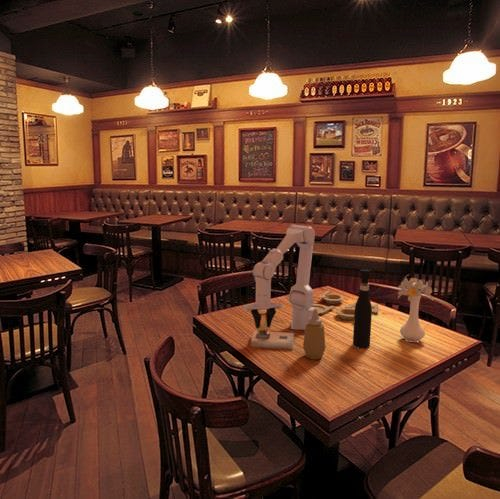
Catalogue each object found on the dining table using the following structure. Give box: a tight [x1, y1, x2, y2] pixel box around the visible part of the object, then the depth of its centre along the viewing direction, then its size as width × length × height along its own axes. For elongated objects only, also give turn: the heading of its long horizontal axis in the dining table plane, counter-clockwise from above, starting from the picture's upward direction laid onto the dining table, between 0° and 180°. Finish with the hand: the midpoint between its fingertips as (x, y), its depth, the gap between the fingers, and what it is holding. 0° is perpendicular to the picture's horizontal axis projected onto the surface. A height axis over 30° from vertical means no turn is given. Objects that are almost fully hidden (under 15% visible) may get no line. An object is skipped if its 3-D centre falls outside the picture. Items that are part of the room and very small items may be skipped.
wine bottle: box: [352, 268, 373, 349], centre depth 165 cm, size 6×6×30 cm
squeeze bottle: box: [302, 309, 327, 360], centre depth 156 cm, size 8×8×18 cm
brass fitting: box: [257, 311, 269, 335], centre depth 169 cm, size 4×4×8 cm
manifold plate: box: [250, 330, 295, 350], centre depth 170 cm, size 16×10×2 cm, turn 81°
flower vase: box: [397, 277, 434, 342], centre depth 171 cm, size 13×18×25 cm
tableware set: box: [311, 290, 380, 321], centre depth 209 cm, size 35×29×4 cm
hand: (262, 327), depth 169 cm, fingers closed on brass fitting, 4 cm apart
